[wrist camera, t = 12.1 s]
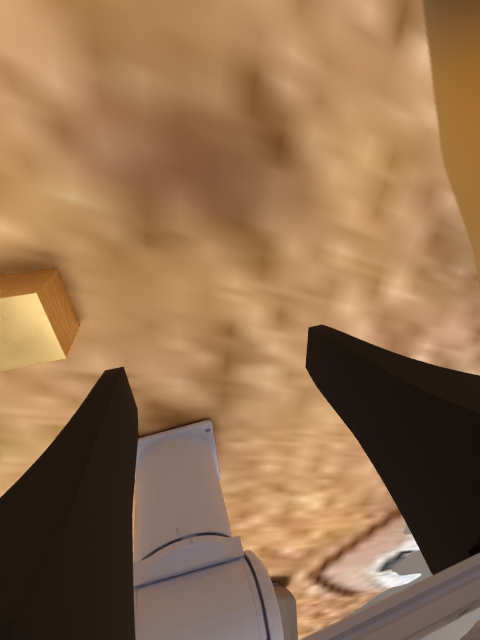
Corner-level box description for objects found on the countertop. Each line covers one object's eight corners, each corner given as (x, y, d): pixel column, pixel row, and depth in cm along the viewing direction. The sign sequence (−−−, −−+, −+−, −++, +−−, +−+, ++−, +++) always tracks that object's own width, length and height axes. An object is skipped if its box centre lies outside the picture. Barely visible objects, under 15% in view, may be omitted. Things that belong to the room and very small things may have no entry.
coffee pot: (254, 612, 55) (287, 745, 42) (216, 609, 49) (241, 764, 36) (339, 550, 52) (401, 671, 40) (310, 539, 46) (372, 678, 34)
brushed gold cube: (80, 324, 19) (66, 358, 16) (4, 337, 18) (-28, 376, 15) (58, 268, 17) (36, 292, 14) (-28, 279, 16) (-74, 309, 13)
